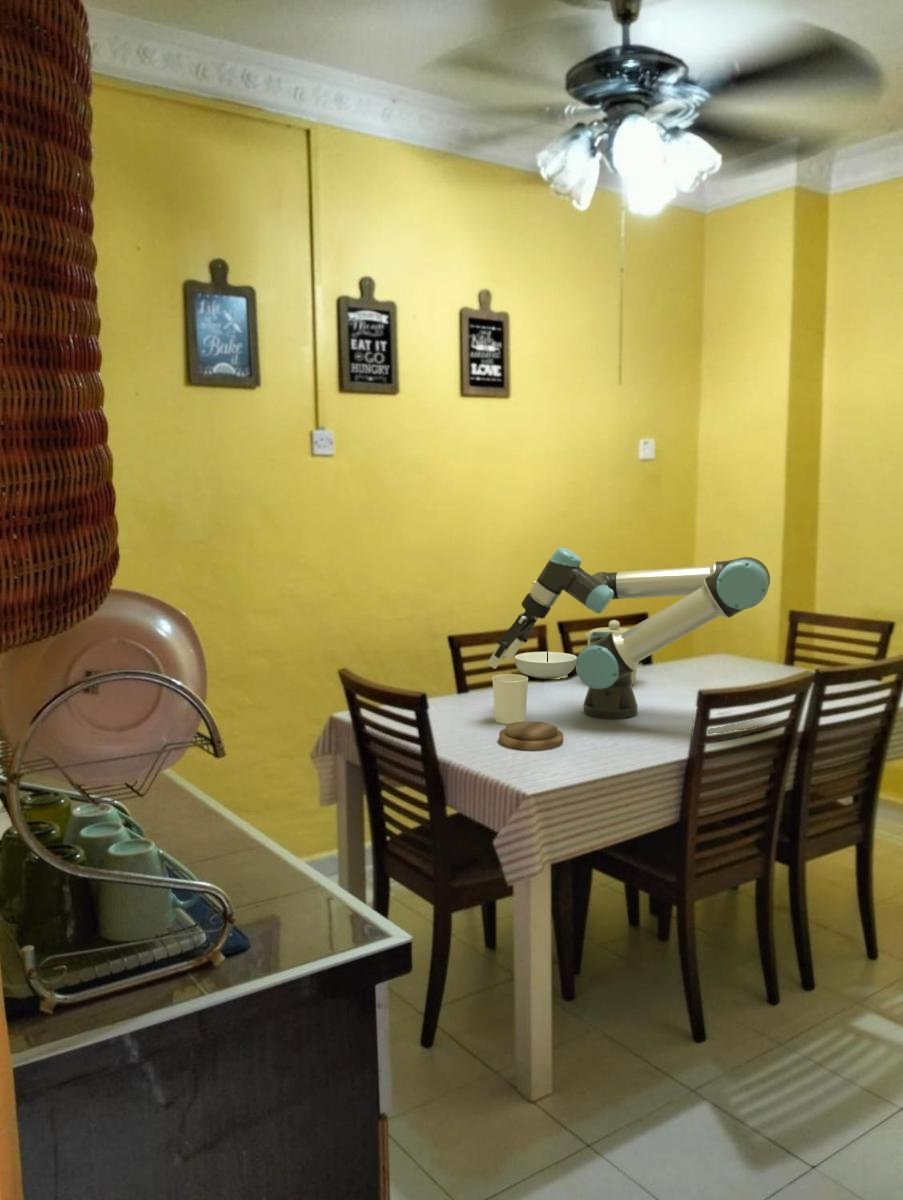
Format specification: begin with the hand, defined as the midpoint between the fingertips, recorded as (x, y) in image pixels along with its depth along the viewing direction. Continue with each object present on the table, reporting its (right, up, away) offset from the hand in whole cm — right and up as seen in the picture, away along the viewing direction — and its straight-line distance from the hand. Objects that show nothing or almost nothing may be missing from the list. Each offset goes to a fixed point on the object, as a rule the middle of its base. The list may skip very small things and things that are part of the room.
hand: (499, 661), depth 257 cm
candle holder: (+3, -16, -4) cm, 17 cm away
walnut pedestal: (+7, -18, -25) cm, 31 cm away
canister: (+39, -10, +40) cm, 57 cm away
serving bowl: (+18, -9, +54) cm, 58 cm away
